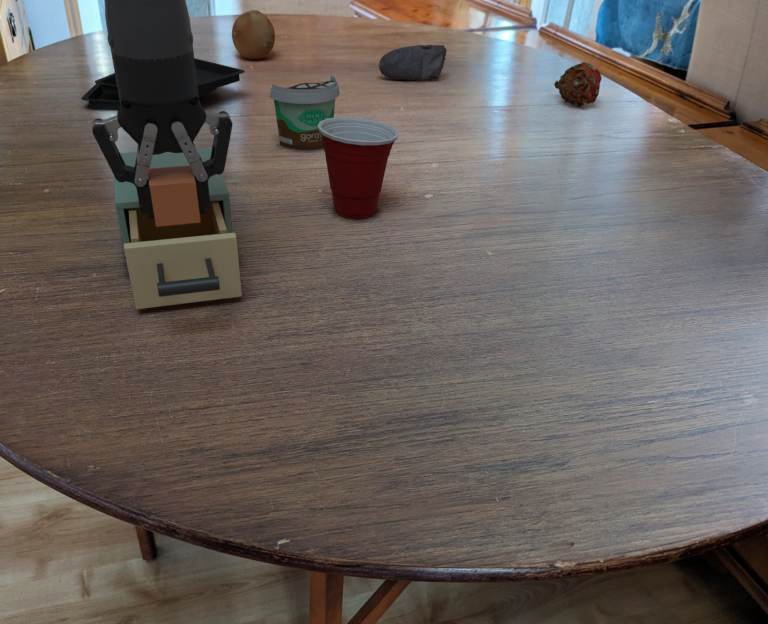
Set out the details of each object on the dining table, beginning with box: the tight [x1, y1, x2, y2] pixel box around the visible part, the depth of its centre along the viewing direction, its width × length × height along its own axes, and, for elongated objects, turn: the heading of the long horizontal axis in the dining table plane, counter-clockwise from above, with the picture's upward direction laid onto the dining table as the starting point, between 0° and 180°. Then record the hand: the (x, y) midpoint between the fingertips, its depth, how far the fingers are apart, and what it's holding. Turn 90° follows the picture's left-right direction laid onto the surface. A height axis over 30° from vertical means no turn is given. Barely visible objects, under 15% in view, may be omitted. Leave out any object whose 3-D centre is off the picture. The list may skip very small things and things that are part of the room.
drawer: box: [123, 201, 243, 310], centre depth 81 cm, size 20×11×7 cm, turn 17°
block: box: [148, 166, 201, 227], centre depth 77 cm, size 5×5×5 cm
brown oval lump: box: [231, 9, 276, 61], centre depth 164 cm, size 10×10×10 cm
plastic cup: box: [318, 116, 400, 220], centre depth 99 cm, size 11×11×12 cm
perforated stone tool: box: [378, 44, 447, 81], centre depth 155 cm, size 15×5×7 cm, turn 99°
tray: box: [81, 57, 246, 111], centre depth 139 cm, size 30×23×5 cm
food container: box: [269, 75, 341, 151], centre depth 120 cm, size 12×6×10 cm, turn 126°
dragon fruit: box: [553, 61, 603, 108], centre depth 146 cm, size 8×8×12 cm
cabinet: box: [113, 146, 234, 274], centre depth 91 cm, size 16×13×9 cm
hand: (176, 212), depth 78 cm, fingers closed on block, 4 cm apart
